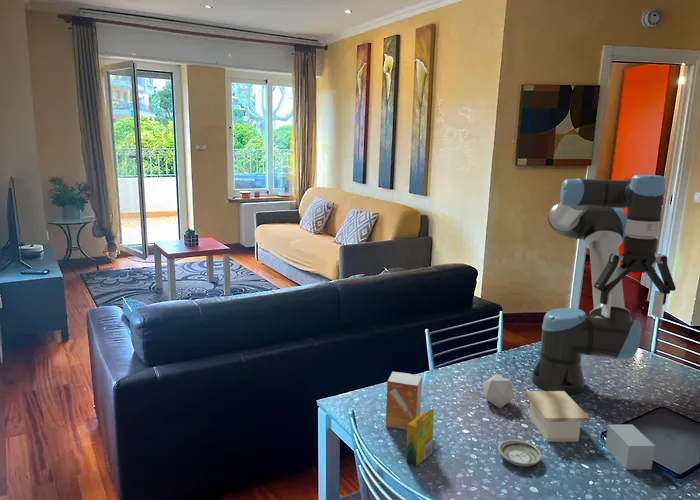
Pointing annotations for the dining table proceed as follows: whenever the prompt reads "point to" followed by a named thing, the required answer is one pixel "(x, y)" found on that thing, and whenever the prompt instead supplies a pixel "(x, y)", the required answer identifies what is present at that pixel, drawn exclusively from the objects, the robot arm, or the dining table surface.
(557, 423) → the open beige tray
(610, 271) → the robot arm
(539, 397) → the sheet
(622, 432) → the grey rectangular block
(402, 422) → the small box
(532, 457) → the saucer
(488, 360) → the dining table surface
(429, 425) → the crayon box
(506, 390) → the die
